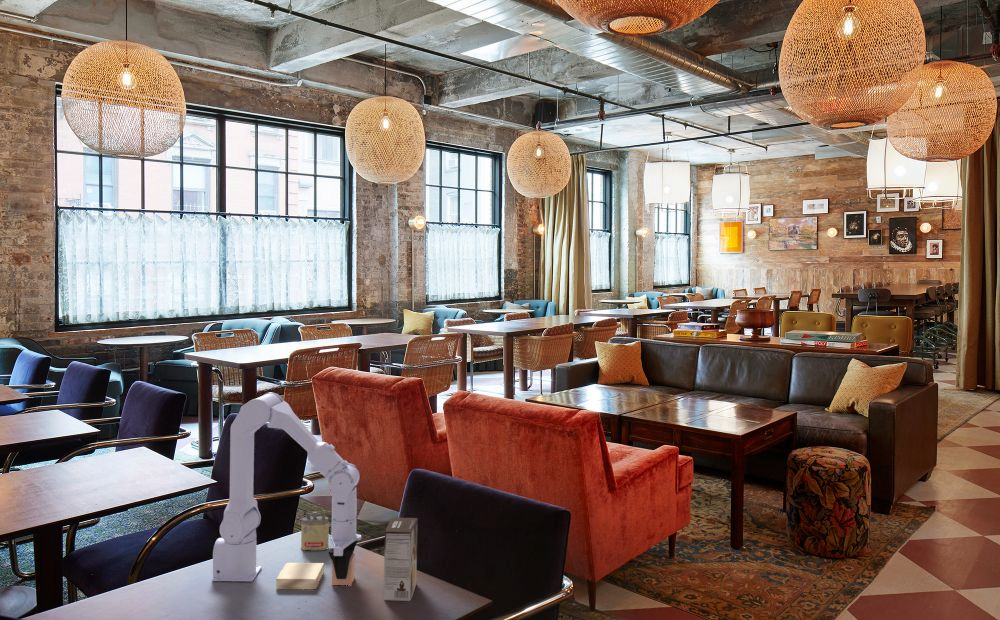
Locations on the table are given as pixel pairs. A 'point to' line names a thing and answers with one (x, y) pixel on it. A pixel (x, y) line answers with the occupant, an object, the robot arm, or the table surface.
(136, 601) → the table surface
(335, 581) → the terracotta block
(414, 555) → the coffee box
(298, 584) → the birch block
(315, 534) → the yellow package
